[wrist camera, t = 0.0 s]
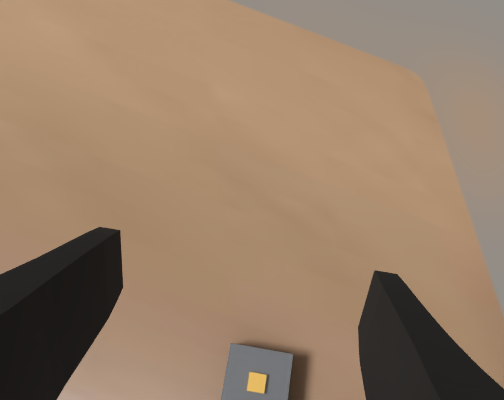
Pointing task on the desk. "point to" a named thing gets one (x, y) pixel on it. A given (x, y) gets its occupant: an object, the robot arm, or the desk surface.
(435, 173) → the desk surface
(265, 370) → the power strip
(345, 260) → the desk surface
